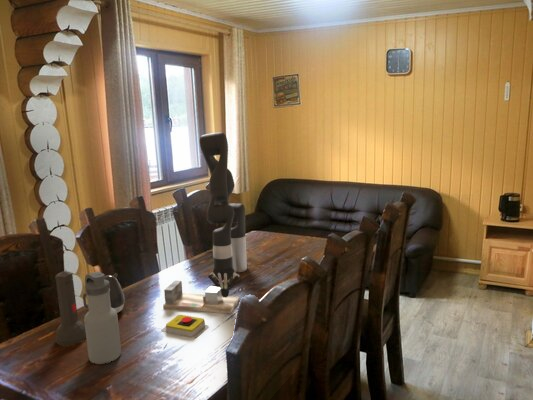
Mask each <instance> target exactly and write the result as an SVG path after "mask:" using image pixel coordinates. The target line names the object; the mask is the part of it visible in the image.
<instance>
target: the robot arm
mask: <svg viewBox="0 0 533 400" xmlns="http://www.w3.org/2000/svg"><path fill="white" fill-rule="evenodd" d="M199 147H200V150H201V153H202V154H203V158H204V161H205V163H206V166H207V167H208V171H209V174H210V176H209V177H210V178H209V183H208V184H209V201H208V202H209V203H208V206H207V210H206V220H207V222H208V223H209V224H212V225H214V224H215V225H216V224H217V225H218V224H224V225H223V226H221V227H218V228H215V229H213V231H212V256H213V257H212V259H213V270H212V272H210V273H209V274H208V278H209V279H210V281H211V282H212V283H213V284H214V285H216V287H220V288H221V295H222V296H223V297H226V298H227V296H229V295H230V289H231V288H232V287H233V286H234V283H235V282H236V280H237V279H238V278H239V276H240V277H241V273H243V272H246V271H247V269H248V267H247V266H248V264H247V245H246V243H247V242H246V240H247V239H246V206H245V205H244V203H232V202H231V203H230V202H229V199H230V196H231V195H232V193H233V191H234V189H235V180H234V178H233V177H234V176H233V174H232V172H231V170H230V169H229V168H228V162H229V161H228V160H229V158H228V157H229V143H228V138H227V136H226V134H225V132H223V131H220V132H218V131H217V132H212V133H206V134H202V135H200V137H199ZM215 156H219V157H218V158H219V159H216V157H215ZM233 223H237V224H236V225H235V226H234V227H232V224H233ZM236 271H238V272H239V273H240V274H236V273H235V272H236ZM232 275H233V281H232V282H231V283H229V280H230V278H231V276H232Z"/></svg>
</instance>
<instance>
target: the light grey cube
mask: <svg viewBox="0 0 533 400" xmlns="http://www.w3.org/2000/svg"><path fill="white" fill-rule="evenodd" d="M204 295H205V299H206V304H215V305H218V304H219V302H220V301H221V300H222V298H223V297H222V295H221V288H220V287H216V286H213V285H210V286H209V287H208V288H207V289H206V290H205V291H204Z"/></svg>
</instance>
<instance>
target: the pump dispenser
mask: <svg viewBox="0 0 533 400" xmlns="http://www.w3.org/2000/svg"><path fill="white" fill-rule="evenodd" d="M117 277H118V272H115V273H114V274H113V275H111V274H108V275H105V280H108V281H109V285H110V292H109V293H110V303H111V307H112V308H114V309H115V310H116V312H117V314H118V313H119V312H121V311H122V310H123V308H124V305H125V303H126V302H125V301H126V300H125V299H126V298H125V294H124V290H123V289H122V286H121V284H120V282H119V281H118V279H117Z"/></svg>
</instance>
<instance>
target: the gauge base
mask: <svg viewBox="0 0 533 400" xmlns="http://www.w3.org/2000/svg"><path fill="white" fill-rule="evenodd" d="M163 291H164V300H165V301H164V304H163V306H162V307H163V309H167V310H178V311H179V310H180V311H191V312H193V311H194V312H206V313H207V312H208V313H221V314H231V313H232V312H233V311H234V309H235V308H236V306H237V305H238V303H239V301H240V296H229V295H228V296H227V298H226V297H223V296H222V297H223V298H222V300H221V301H220V302H219V304H218V305H215V304H204V306H203V307H201V305H202V304H203V296H204V295H205V294H197V293H183V283H182V280H174V281H172V283H171V284H169V285H168V286H167V287H165V289H164V290H163Z"/></svg>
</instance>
